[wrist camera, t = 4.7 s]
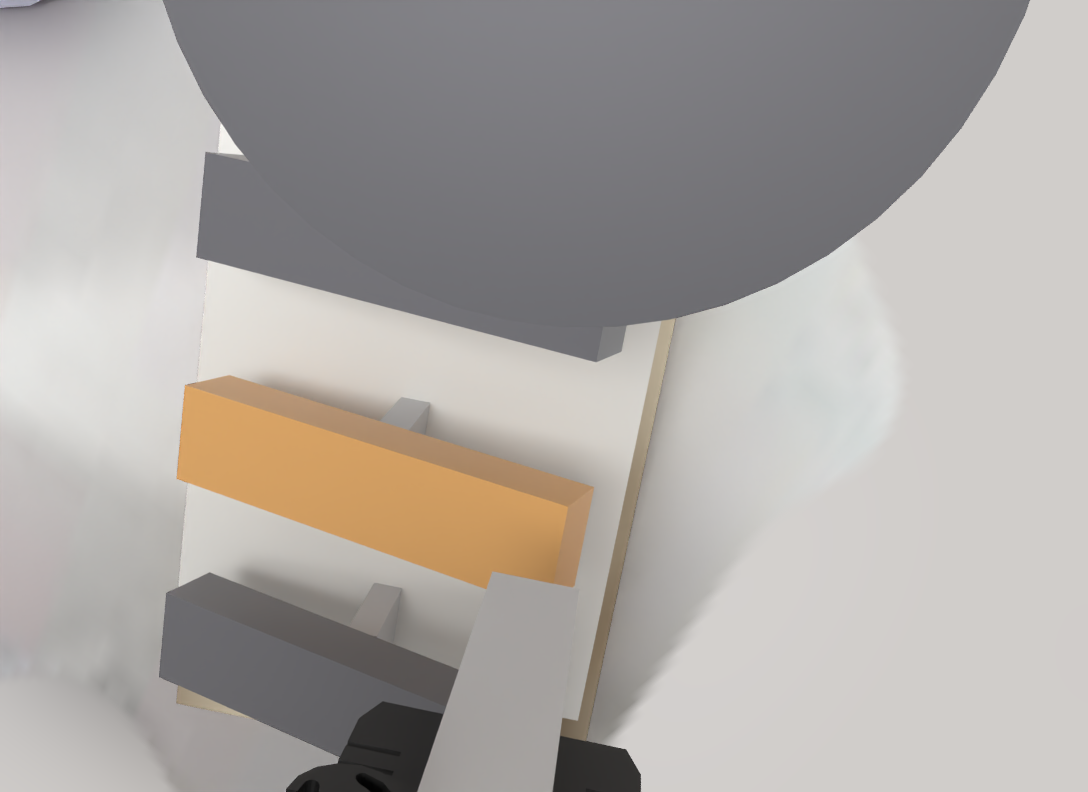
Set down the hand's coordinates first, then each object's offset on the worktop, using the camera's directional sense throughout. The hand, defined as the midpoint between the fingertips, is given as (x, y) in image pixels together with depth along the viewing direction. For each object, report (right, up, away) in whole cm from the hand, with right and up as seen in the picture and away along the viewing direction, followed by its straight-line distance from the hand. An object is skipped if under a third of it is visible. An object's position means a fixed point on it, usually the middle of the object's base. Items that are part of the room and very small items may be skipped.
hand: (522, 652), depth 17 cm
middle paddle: (-4, +2, +6) cm, 8 cm away
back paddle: (-5, -3, +8) cm, 9 cm away
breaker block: (-3, +4, +12) cm, 13 cm away
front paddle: (-3, +8, +5) cm, 9 cm away
